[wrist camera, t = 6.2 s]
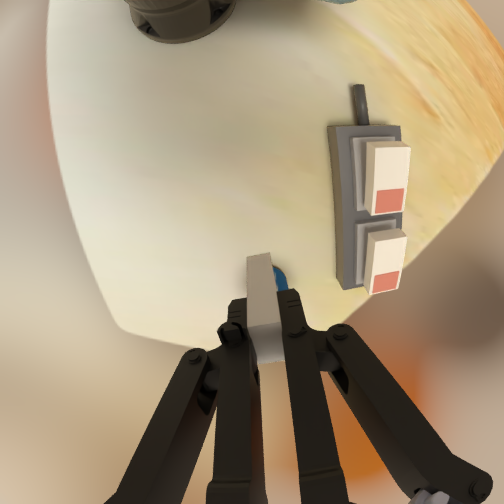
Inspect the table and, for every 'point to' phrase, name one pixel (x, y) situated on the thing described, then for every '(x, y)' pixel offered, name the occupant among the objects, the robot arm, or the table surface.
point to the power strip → (356, 191)
